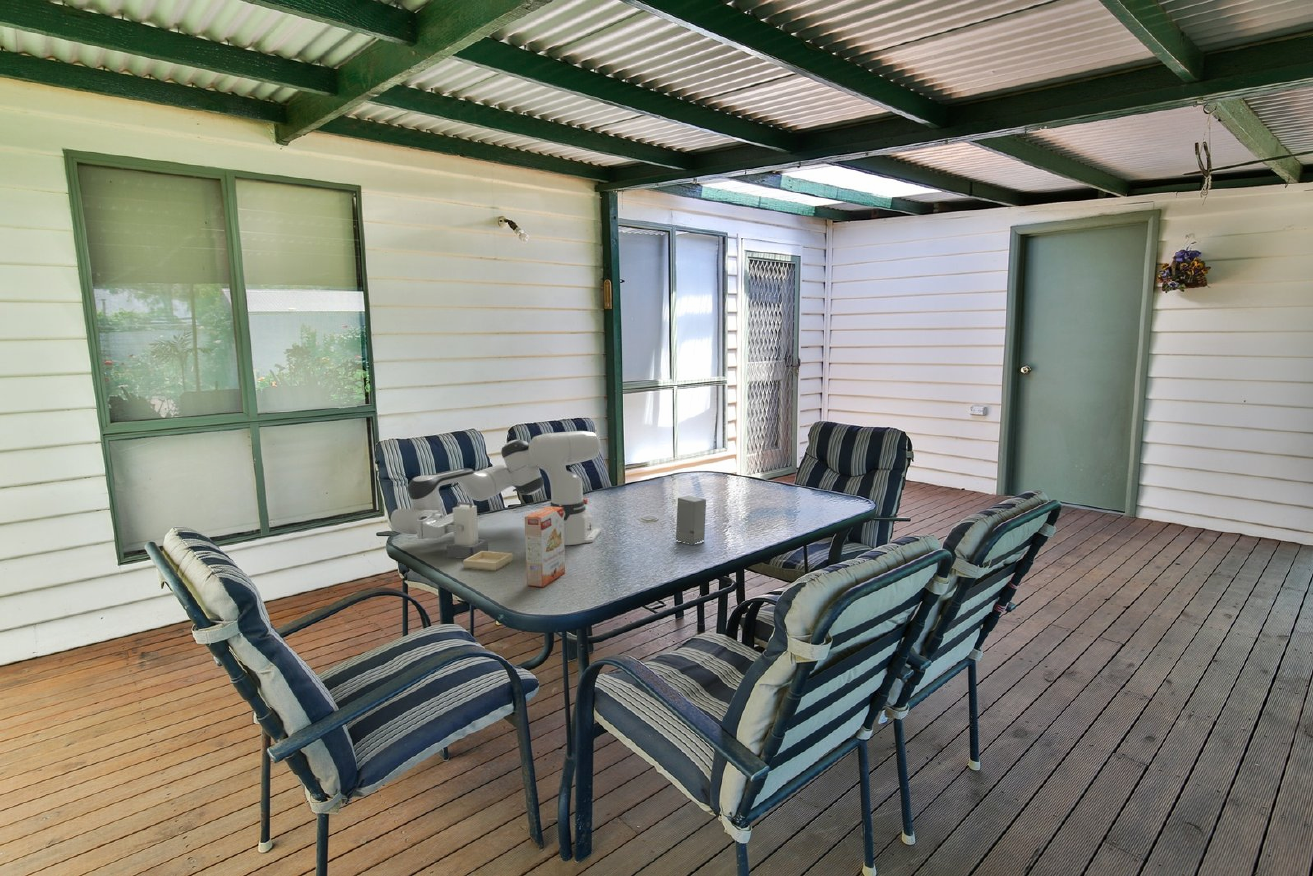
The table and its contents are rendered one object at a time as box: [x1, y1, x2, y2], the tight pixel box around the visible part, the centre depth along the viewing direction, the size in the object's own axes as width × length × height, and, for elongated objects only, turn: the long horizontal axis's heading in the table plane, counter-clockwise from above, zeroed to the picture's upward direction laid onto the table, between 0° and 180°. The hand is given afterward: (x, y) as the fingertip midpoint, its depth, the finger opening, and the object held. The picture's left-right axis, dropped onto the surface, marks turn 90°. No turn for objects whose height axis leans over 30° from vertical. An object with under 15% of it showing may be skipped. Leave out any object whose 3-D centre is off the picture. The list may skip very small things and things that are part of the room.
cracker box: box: [524, 505, 566, 588], centre depth 210 cm, size 14×6×21 cm, turn 160°
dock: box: [446, 538, 490, 559], centre depth 239 cm, size 9×10×4 cm
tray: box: [462, 550, 514, 572], centre depth 227 cm, size 11×12×2 cm
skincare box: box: [675, 495, 707, 545], centre depth 247 cm, size 8×7×16 cm
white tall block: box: [452, 501, 479, 546], centre depth 238 cm, size 5×6×16 cm
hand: (468, 525), depth 237 cm, fingers closed on white tall block, 5 cm apart
